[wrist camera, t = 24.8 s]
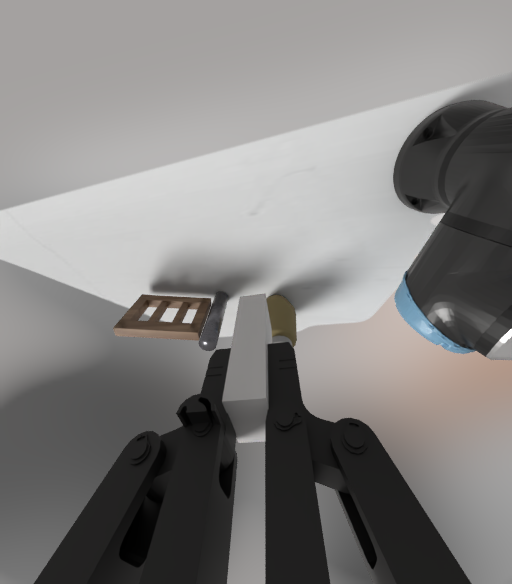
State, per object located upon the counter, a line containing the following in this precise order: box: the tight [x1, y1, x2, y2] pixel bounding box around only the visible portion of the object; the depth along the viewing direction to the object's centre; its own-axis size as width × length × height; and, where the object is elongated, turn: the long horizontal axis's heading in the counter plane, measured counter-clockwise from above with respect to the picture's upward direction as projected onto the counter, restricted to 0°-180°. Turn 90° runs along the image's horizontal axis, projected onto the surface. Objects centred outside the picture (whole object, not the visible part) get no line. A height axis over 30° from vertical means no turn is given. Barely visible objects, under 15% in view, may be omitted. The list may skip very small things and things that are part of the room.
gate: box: [113, 295, 211, 340], centre depth 45 cm, size 2×15×11 cm, turn 87°
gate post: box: [199, 292, 228, 351], centre depth 45 cm, size 3×3×15 cm
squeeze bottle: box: [266, 295, 297, 347], centre depth 45 cm, size 8×8×18 cm
